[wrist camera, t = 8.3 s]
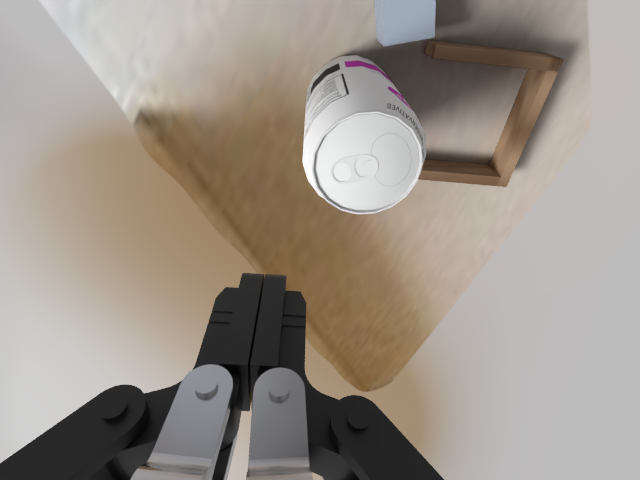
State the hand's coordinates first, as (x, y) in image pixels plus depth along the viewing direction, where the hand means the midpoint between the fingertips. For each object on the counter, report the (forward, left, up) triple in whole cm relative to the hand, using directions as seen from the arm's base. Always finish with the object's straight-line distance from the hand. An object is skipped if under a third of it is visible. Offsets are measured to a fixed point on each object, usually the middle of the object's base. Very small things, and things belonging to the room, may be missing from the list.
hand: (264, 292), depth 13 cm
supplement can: (0, +5, -27) cm, 28 cm away
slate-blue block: (-8, +8, -27) cm, 29 cm away
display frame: (0, +17, -27) cm, 32 cm away
